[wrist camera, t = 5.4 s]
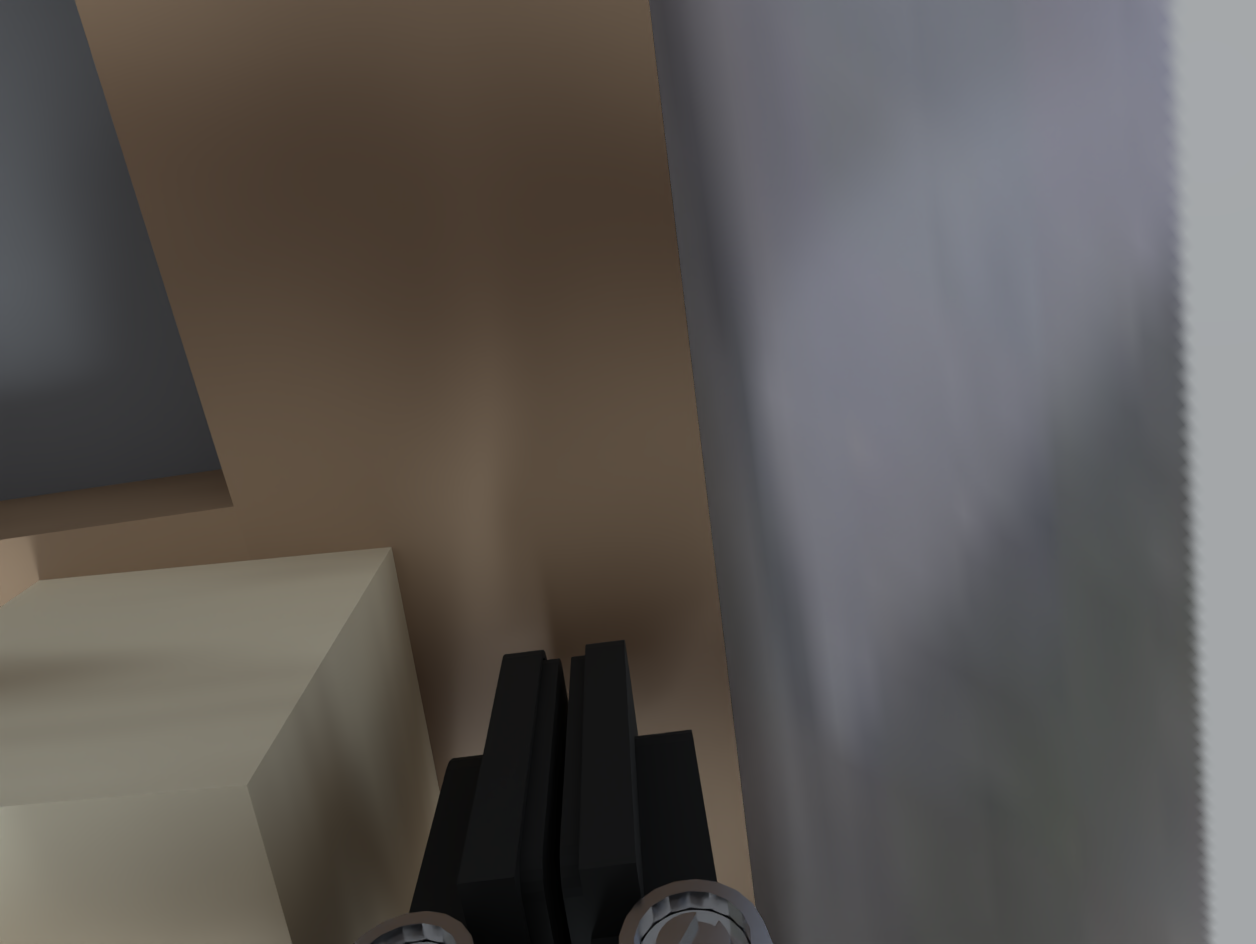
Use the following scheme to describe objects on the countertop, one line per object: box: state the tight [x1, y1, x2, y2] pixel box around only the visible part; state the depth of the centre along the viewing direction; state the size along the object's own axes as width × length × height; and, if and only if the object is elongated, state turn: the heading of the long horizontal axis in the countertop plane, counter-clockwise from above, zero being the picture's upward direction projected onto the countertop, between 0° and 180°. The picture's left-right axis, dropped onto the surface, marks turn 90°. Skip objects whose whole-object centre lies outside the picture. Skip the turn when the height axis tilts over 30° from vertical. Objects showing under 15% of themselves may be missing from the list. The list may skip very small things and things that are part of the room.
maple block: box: [0, 547, 440, 944], centre depth 10 cm, size 5×5×5 cm
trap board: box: [0, 0, 755, 906], centre depth 13 cm, size 24×21×4 cm
